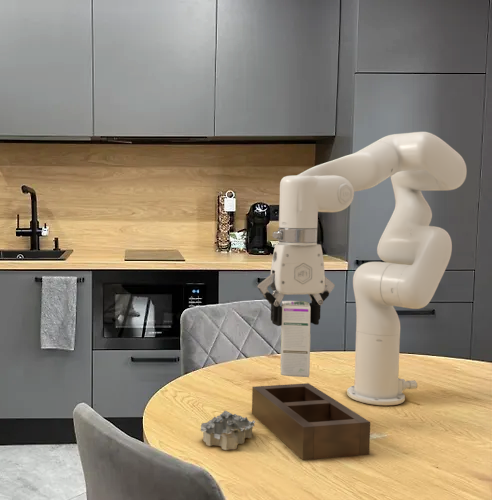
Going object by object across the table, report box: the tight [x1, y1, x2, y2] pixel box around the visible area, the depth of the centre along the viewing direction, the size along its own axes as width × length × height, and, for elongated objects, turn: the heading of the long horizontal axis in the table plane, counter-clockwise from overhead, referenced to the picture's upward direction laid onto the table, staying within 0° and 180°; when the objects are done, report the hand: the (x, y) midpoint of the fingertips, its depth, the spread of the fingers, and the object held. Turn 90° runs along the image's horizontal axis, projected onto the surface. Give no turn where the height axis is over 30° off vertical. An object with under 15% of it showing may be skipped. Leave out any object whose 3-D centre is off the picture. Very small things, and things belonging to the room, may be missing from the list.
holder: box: [251, 382, 371, 461], centre depth 122 cm, size 13×24×6 cm, turn 12°
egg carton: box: [200, 410, 256, 451], centre depth 118 cm, size 11×8×4 cm
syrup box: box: [280, 300, 311, 378], centre depth 126 cm, size 6×6×14 cm
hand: (295, 323), depth 126 cm, fingers closed on syrup box, 7 cm apart
